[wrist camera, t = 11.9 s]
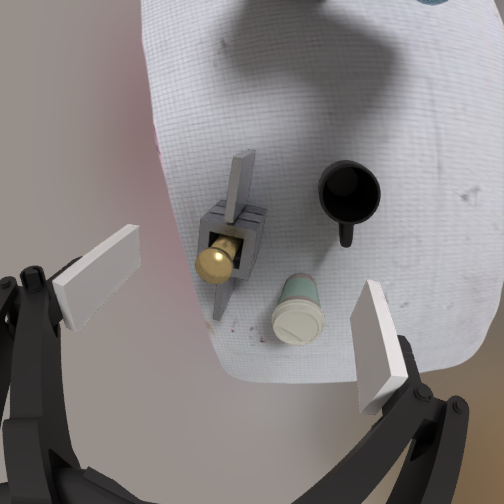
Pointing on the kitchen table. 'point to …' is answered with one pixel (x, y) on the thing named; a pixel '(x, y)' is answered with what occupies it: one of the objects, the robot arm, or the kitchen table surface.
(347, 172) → the mug
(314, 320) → the coffee cup
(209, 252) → the pin
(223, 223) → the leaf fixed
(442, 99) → the kitchen table surface
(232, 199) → the grey piece
